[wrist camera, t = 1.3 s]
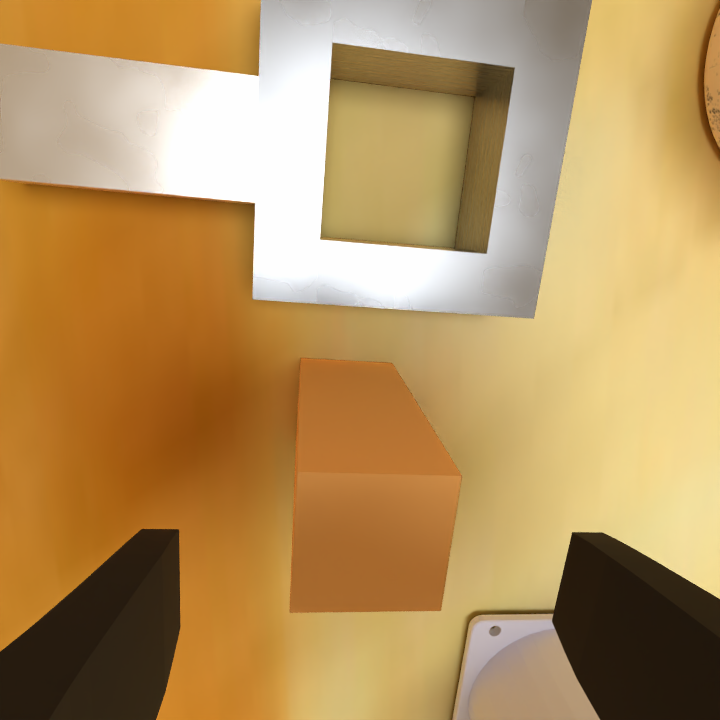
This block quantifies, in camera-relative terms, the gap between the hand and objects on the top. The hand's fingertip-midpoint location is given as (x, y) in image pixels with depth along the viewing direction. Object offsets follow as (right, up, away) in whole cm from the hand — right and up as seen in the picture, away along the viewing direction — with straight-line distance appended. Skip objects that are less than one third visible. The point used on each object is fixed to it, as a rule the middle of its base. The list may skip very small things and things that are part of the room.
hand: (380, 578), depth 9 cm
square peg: (-1, +2, +9) cm, 9 cm away
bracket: (-3, +10, +6) cm, 12 cm away
